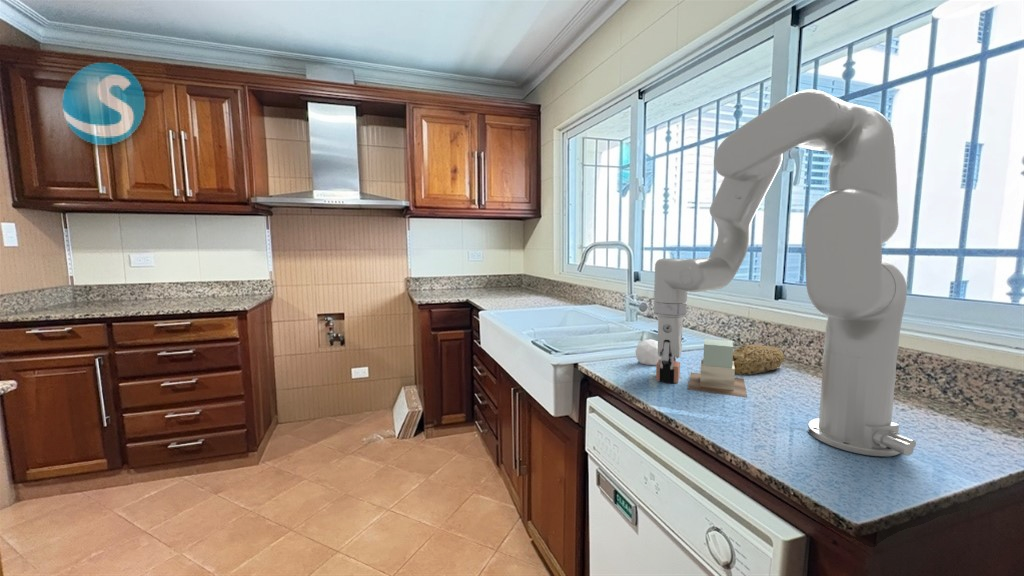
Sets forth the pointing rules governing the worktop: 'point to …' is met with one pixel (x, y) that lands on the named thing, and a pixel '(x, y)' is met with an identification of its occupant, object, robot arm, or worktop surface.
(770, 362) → the sponge
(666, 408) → the worktop surface
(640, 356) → the ball
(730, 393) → the walnut board
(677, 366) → the terracotta block
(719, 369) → the tower base block
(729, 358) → the tower middle block
